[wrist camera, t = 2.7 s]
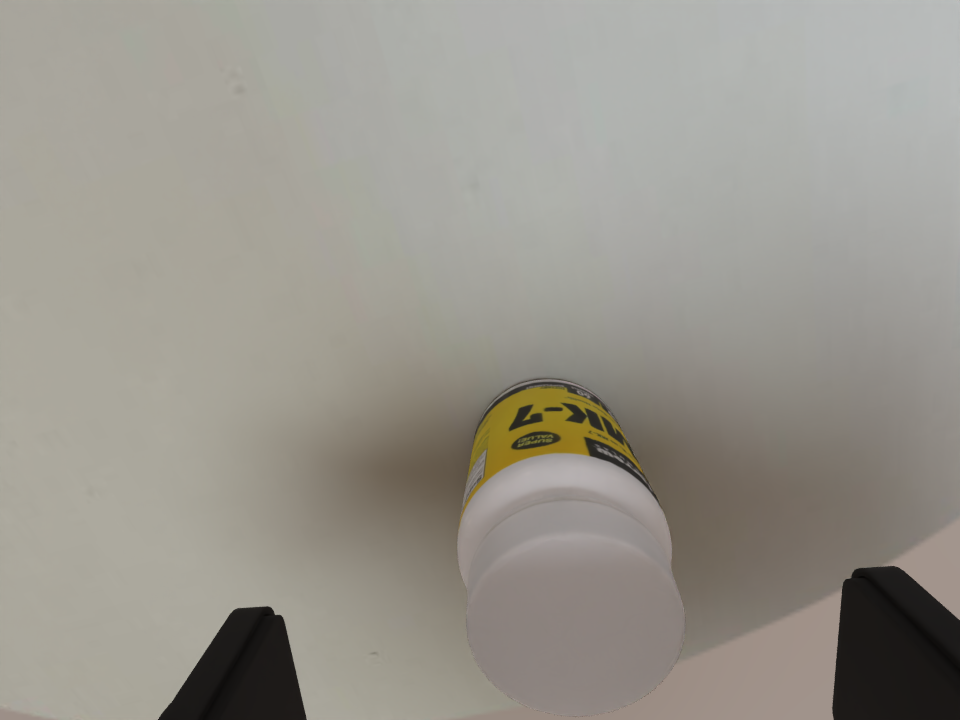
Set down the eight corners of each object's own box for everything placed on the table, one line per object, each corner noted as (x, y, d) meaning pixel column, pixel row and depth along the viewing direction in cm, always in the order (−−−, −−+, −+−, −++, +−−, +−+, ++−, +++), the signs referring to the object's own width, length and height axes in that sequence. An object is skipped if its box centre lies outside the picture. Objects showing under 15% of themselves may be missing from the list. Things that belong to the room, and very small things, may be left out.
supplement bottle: (639, 396, 17) (755, 556, 9) (594, 523, 19) (661, 763, 11) (493, 358, 17) (481, 485, 9) (457, 488, 19) (418, 702, 10)
